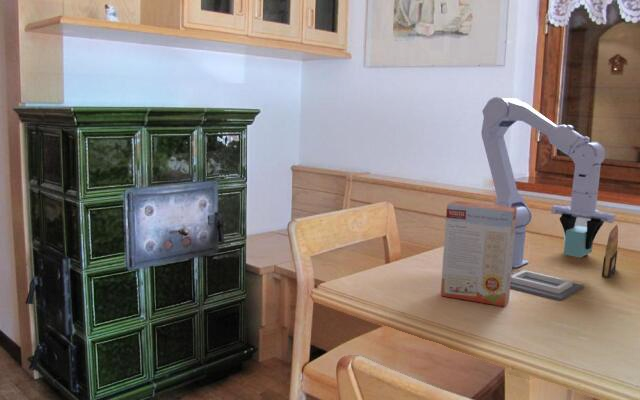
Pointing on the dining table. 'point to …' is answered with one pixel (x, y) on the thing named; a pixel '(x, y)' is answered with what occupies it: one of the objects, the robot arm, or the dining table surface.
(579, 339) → the dining table surface
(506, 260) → the cracker box
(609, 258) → the ammunition clip
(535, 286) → the grey square tray
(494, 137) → the robot arm
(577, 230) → the light blue rectangular block
